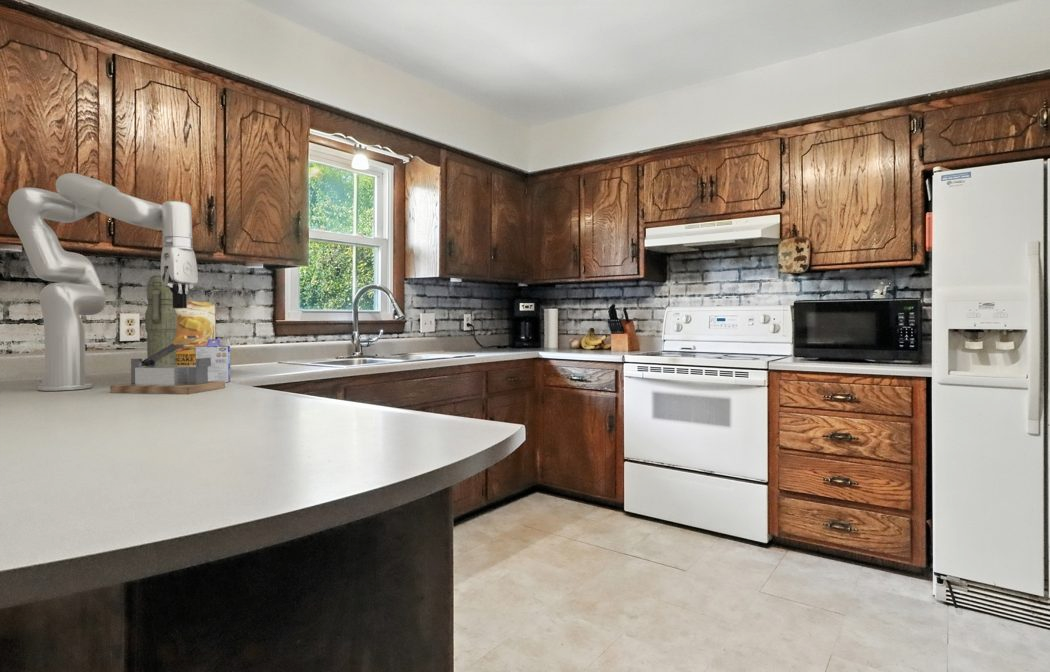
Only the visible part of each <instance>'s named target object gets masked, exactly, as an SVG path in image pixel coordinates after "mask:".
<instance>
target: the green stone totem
mask: <svg viewBox="0 0 1050 672" xmlns="http://www.w3.org/2000/svg"><path fill="white" fill-rule="evenodd" d="M146 292H147V293H146V294H147V295H146V298H147V299H146V300H147V304H146V307H147V308H146V310H145V313H144V316H145V317H144V321H145V322H144V325H145V331H146V341H147V343H146V344H147V346H146V348H147V350H146V351H147V352H146V353H147V354H146V357H147V358H148V357H150V356H152V355H154V354H155V353H157V352H159V351H161V350H162V349H164V348H166V347H168V346H169V345H171V344H173V342H174V341H175V340H176V331H177V313H176V310H175V308H173V294H171V290H170V289H169V288H168V287H165V286H164V282H163V281H162V279H161V275H152V276H150V277H149V279H148V282H147V284H146ZM147 358H146V359H147ZM159 365H177V362H176V350H175V351H173V352H171V353H170V354H168V355H166V356H165V357H163V358H161V359H159V360H158V366H159ZM145 367H148V366H145Z"/></svg>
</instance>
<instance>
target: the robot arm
mask: <svg viewBox="0 0 1050 672" xmlns="http://www.w3.org/2000/svg"><path fill="white" fill-rule="evenodd" d="M55 189H56V191H57V192H54V191H52V190H47V189H43V188H39V187H38V188H37V187H30V186H29V187H22V188H18V189H16V190H15V191H13V193H12V194H11V196H10V198H9V199H8V200H9V201H8V205H7V214H8V219H9V221H10V223H11V225H12V226H13V228H14V231H16V233H17V235H18V237H19V239H20V241H21V243H22V247H23V249H24V252H25V253H26V256H27V258H28V261H29V263H30V266H31V268H32V270H33V272H34V274H35V275H36V276H37V277H38V278H39V279H41V280H43V281H46V282H47V281H48V282H53V283H48V284H47V285H45V286H44V287H43V288H42V289H41V290H40V293H39V297H38V298H39V306H40V309H41V313H42V319H43V327H44V328H43V329H44V331H43V332H44V336H43V337H44V373H41V375H40V376H37V377H36V378H35V381H36V382H37V383H41V385H39V386H38V389H37V390H38V391H44V392H45V391H46V392H48V391H49V392H50V391H52V392H53V391H55V392H57V391H75V390H77V391H78V390H86V389H91V388H92V387H93V384H92V383H91V382H89V383H88V382H87V381H86V377H87V376H86V329H85V324H84V322H83V320H82V319H81V316H93V315H94V316H95V315H98V314H100V313H101V312H103V311H104V309H105V307H106V305H107V297H106V292H105V289H104V287H103V286H102V283H101V281H100V278H99V276H98V273H97V271H96V269H95V266H94V265H93V263H92V262H91V260H90V259H89V258H88V257H86V256H85V255H83V254H80V253H77V252H73V251H67V250H65V249H64V248H63V247H62V245H61V244H60V241H59V238H58V236H57V234H56V233H55V230H53V229H52V228H51V226H49V224H48V223H47V222H45V220H49V221H52V222H53V221H54V222H59V223H63V224H64V223H65V224H66V223H67V224H69V223H75V222H77V221H80V220H81V219H83V218H86V217H88V216H89V215H92V214H93V213H96V212H98V213H101V214H103V215H106V216H108V217H111V218H114V219H116V220H118V221H121V222H125V223H128V224H131V225H134V226H137V227H142V228H147V229H151V230H156V231H162V233H161V234H162V235H161V237H162V250H161V256H160V276H161V279H162V281H163V282H164V286H165V287H168V288H169V289H170V290H171V294H173V308H187V301H188V300H187V299H188V298H187V295H188V294H189V290H192V289H194V287H195V286H194V285H196V284H198V283H199V273H198V263H197V258H196V253H195V251H194V246H193V221H192V220H193V218H192V216H193V215H192V214H193V213H192V206H191V205H190V204H189V203H187V202H184V201H178V200H167V201H164V202H163V203H162V204H160V203H157V202H152V201H149V200H145V199H142V198H138V197H135V196H132V195H129V194H127V193H123V192H121V191H120V189H119V188H117V187H115V186H114V185H111V184H109V183H108V184H107V183H105V182H103V181H102V180H99V179H97V178H92V177H90V176H86V175H83V174H81V173H74V172H69V173H64V174H62V175H60V176H58V178H56V181H55Z"/></svg>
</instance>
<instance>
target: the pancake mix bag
mask: <svg viewBox="0 0 1050 672" xmlns="http://www.w3.org/2000/svg"><path fill="white" fill-rule="evenodd" d="M212 302H213V301H208V300H202V301H201V300H187V308H175V310H176V313H177V331H176V340H177V339H179V338H180V337H182V336H188V335H198V336H199V338H198V339H197V340H195V341H193V342H191V343H190V344H185V345H184V346H182V347H180V348H178V349H177V350H176V362H177V365H196V347H197V346H207V342H208V339H216V332H217V317H216V316H217V307H216V304H214V303H213V304H212ZM209 343H216V341H210V342H209Z"/></svg>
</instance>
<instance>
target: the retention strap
mask: <svg viewBox="0 0 1050 672" xmlns="http://www.w3.org/2000/svg"><path fill="white" fill-rule="evenodd" d="M198 338H199V336H198V335H188V336H182V337H180V338H179V339H177V340H175V341H174V342H173V344H171V345H169V346H168V347H166V348H164V349H162V350H161V351H159V352H157V353H155V354H154V355H152V356H150V357H148V358H145V359H142V367H146V366H149V365H152V363H154V362H156V361H158V360H159V359H161V358H163V357H165V356H166V355H168V354H170V353H171V352H173V351H175V350H177V349H178V348H180V347H182V346H184V345H185V344H190V343H191V342H193V341H195V340H197V339H198Z"/></svg>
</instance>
